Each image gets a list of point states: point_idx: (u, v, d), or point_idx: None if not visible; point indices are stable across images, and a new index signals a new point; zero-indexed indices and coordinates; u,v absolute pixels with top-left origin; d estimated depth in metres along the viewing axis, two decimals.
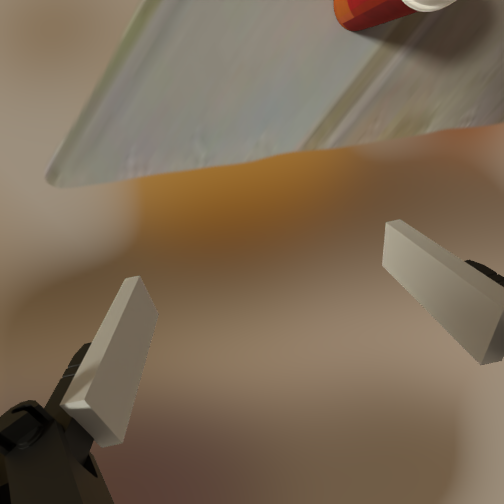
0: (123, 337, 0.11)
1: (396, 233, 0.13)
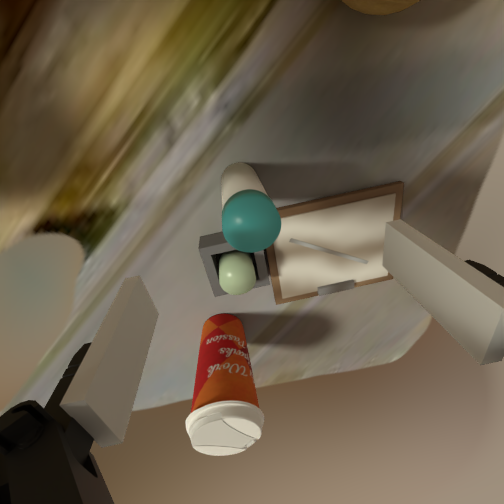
0: (123, 337, 0.11)
1: (396, 233, 0.13)
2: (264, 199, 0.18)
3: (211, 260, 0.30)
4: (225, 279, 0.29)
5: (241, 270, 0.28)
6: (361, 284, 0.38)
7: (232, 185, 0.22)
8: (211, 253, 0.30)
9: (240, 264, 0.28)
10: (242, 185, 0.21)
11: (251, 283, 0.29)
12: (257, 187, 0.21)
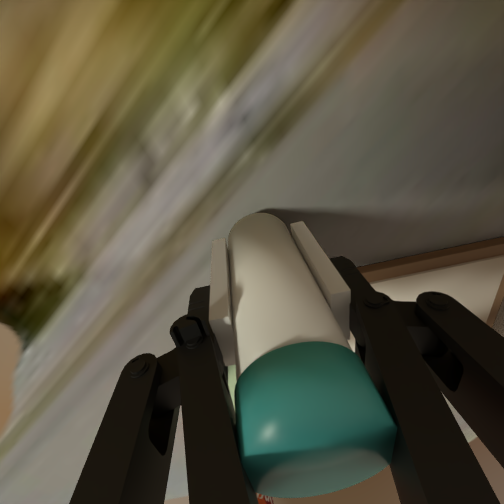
0: (229, 282, 0.13)
1: (294, 233, 0.15)
2: (366, 405, 0.06)
3: None
4: None
5: None
6: None
7: (256, 295, 0.10)
8: None
9: None
10: (285, 312, 0.09)
11: None
12: (319, 314, 0.09)
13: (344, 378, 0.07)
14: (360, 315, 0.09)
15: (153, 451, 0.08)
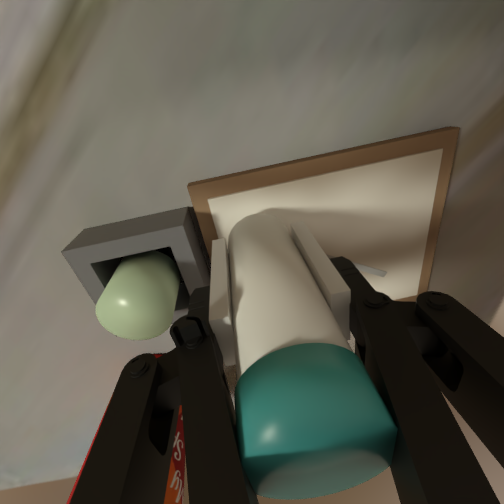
0: (229, 282, 0.13)
1: (294, 233, 0.15)
2: (366, 407, 0.06)
3: (93, 273, 0.16)
4: (108, 313, 0.14)
5: (138, 295, 0.14)
6: None
7: (257, 296, 0.10)
8: (90, 260, 0.15)
9: (133, 284, 0.14)
10: (285, 313, 0.09)
11: (165, 319, 0.15)
12: (319, 315, 0.09)
13: (344, 380, 0.07)
14: (360, 315, 0.09)
15: (153, 451, 0.08)
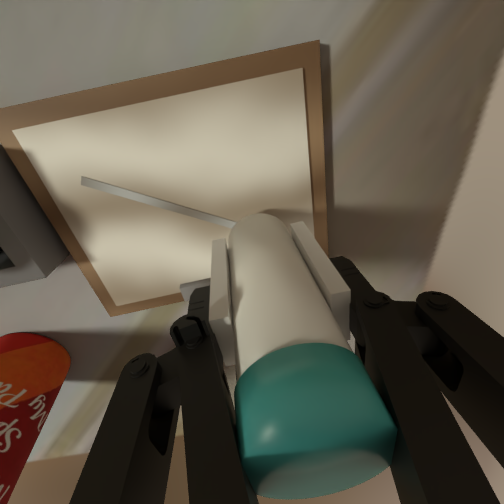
0: (229, 282, 0.13)
1: (294, 233, 0.15)
2: (366, 407, 0.06)
3: None
4: None
5: None
6: None
7: (256, 296, 0.10)
8: None
9: None
10: (285, 313, 0.09)
11: None
12: (319, 315, 0.09)
13: (344, 380, 0.07)
14: (360, 315, 0.09)
15: (153, 451, 0.08)
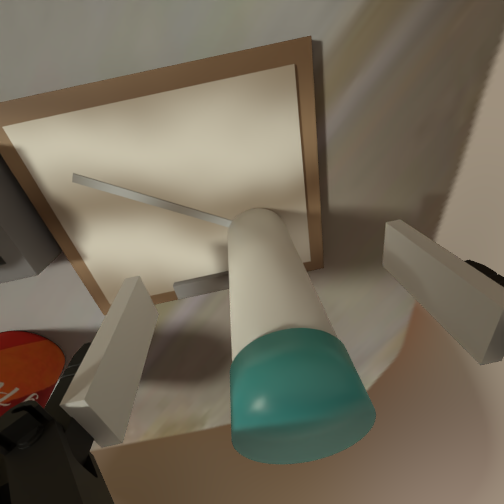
0: (123, 337, 0.11)
1: (396, 233, 0.13)
2: (343, 383, 0.07)
3: None
4: None
5: None
6: None
7: (252, 286, 0.11)
8: None
9: None
10: (277, 301, 0.09)
11: None
12: (307, 304, 0.10)
13: (325, 359, 0.07)
14: None
15: None
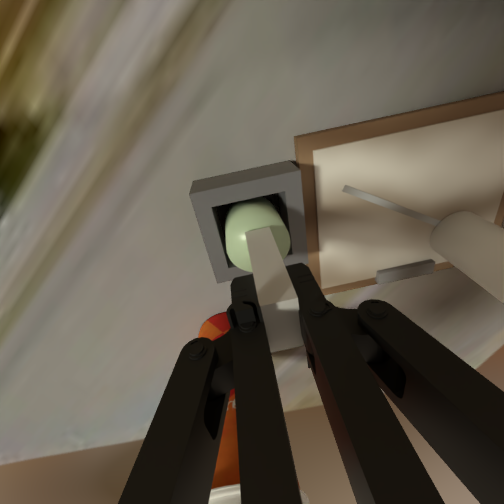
0: None
1: (259, 239, 0.15)
2: None
3: (212, 217, 0.17)
4: (237, 243, 0.16)
5: (266, 226, 0.16)
6: (441, 267, 0.25)
7: None
8: (212, 204, 0.17)
9: (264, 215, 0.16)
10: None
11: (281, 252, 0.17)
12: None
13: None
14: (306, 325, 0.09)
15: (206, 434, 0.08)
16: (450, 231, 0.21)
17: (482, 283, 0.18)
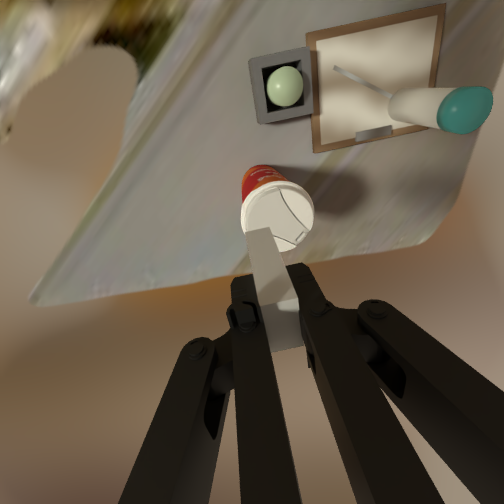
0: None
1: (259, 239, 0.15)
2: None
3: (261, 75, 0.32)
4: (275, 84, 0.31)
5: (290, 73, 0.31)
6: (397, 133, 0.39)
7: (435, 91, 0.29)
8: (262, 65, 0.31)
9: (290, 66, 0.30)
10: (451, 88, 0.28)
11: (298, 92, 0.32)
12: None
13: None
14: (306, 325, 0.09)
15: (206, 434, 0.08)
16: (397, 97, 0.35)
17: (411, 116, 0.32)
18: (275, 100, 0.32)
